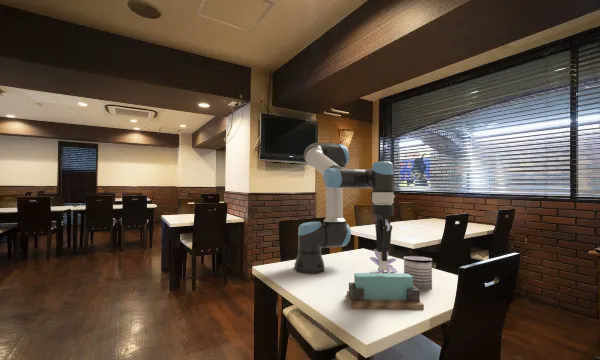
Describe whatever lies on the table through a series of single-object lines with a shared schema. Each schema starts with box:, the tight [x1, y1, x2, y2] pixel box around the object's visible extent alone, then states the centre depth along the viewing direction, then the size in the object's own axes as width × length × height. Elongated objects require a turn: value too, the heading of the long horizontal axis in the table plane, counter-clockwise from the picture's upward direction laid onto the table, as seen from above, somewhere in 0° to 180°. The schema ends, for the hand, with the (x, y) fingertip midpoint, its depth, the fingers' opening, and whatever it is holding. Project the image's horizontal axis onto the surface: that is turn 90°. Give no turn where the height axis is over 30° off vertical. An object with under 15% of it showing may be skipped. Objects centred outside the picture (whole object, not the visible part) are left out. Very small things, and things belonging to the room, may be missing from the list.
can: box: [403, 255, 433, 291], centre depth 115 cm, size 11×11×12 cm
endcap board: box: [346, 282, 425, 310], centre depth 98 cm, size 24×12×6 cm, turn 90°
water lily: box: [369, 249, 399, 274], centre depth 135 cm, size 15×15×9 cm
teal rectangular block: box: [353, 272, 413, 300], centre depth 98 cm, size 20×4×8 cm, turn 90°
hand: (383, 269), depth 98 cm, fingers closed
